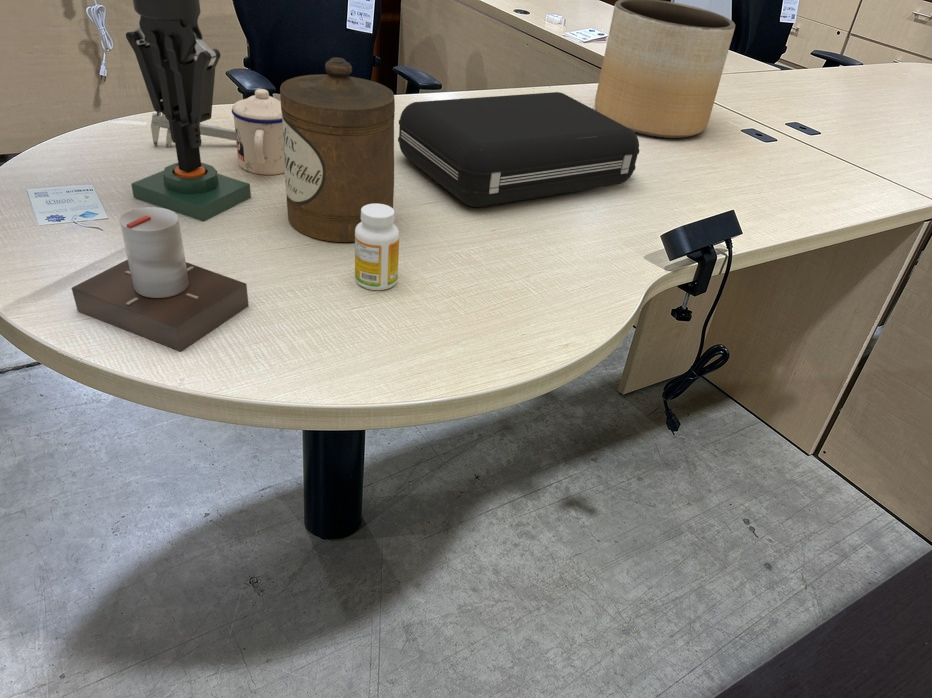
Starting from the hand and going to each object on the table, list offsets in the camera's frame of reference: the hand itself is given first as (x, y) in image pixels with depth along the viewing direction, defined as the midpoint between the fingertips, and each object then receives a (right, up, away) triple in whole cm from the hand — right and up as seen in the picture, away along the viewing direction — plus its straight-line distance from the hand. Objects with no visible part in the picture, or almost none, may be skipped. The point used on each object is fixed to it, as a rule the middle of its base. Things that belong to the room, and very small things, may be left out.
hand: (190, 167), depth 103 cm
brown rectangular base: (+6, -22, -19) cm, 30 cm away
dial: (+6, -19, -21) cm, 29 cm away
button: (0, -2, +1) cm, 2 cm away
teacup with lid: (+6, +4, +14) cm, 16 cm away
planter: (+76, +28, +61) cm, 101 cm away
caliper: (-3, +9, +19) cm, 21 cm away
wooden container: (+20, -7, +4) cm, 22 cm away
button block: (-1, -4, +3) cm, 5 cm away
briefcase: (+44, +9, +29) cm, 53 cm away
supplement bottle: (+28, -17, -9) cm, 34 cm away
